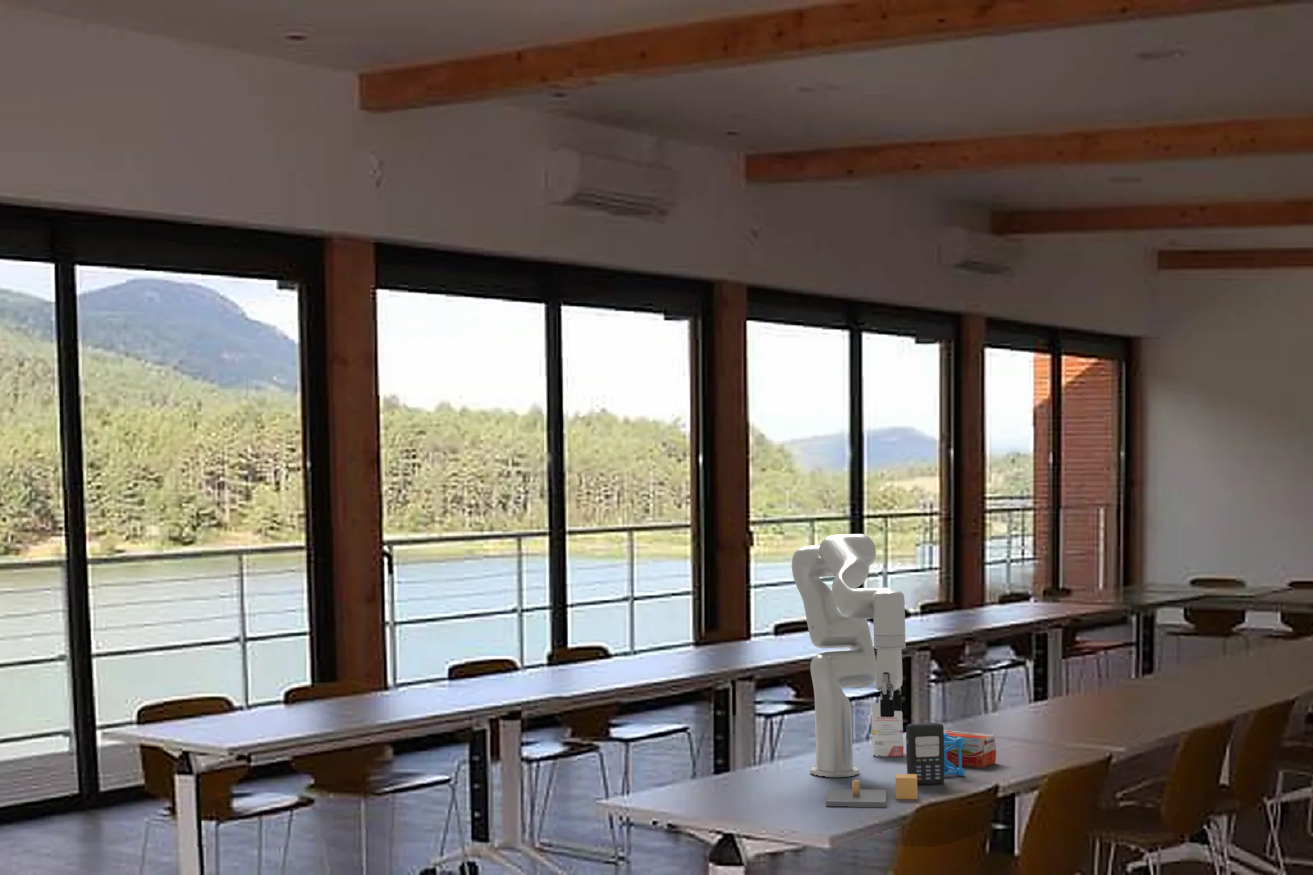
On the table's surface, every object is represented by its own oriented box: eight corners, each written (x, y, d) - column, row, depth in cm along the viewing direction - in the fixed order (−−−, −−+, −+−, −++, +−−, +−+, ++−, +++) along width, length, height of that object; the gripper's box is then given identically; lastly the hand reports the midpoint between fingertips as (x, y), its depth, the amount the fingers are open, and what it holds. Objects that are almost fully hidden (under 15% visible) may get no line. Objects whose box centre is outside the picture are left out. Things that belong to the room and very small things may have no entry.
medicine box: (996, 764, 410) (995, 734, 410) (984, 769, 403) (983, 738, 404) (944, 758, 419) (943, 729, 419) (931, 763, 412) (930, 733, 412)
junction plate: (827, 794, 374) (827, 774, 374) (885, 794, 372) (885, 775, 373) (826, 806, 361) (825, 786, 361) (886, 807, 359) (885, 787, 359)
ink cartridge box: (903, 753, 426) (902, 700, 427) (903, 757, 422) (902, 703, 422) (872, 753, 428) (871, 700, 428) (872, 756, 423) (871, 703, 423)
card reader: (910, 786, 382) (909, 725, 383) (905, 783, 386) (904, 723, 387) (945, 784, 384) (944, 724, 384) (940, 781, 388) (939, 721, 388)
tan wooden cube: (896, 794, 373) (895, 773, 373) (916, 794, 372) (916, 774, 372) (896, 798, 368) (896, 778, 368) (917, 799, 367) (917, 778, 367)
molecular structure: (966, 776, 393) (965, 737, 393) (932, 780, 390) (931, 740, 390) (947, 769, 403) (946, 731, 403) (913, 773, 399) (912, 734, 400)
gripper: (881, 638, 377) (882, 708, 377) (866, 645, 361) (868, 718, 360) (911, 638, 375) (913, 709, 374) (898, 646, 358) (900, 719, 358)
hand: (891, 713), depth 367 cm, fingers open, 9 cm apart
